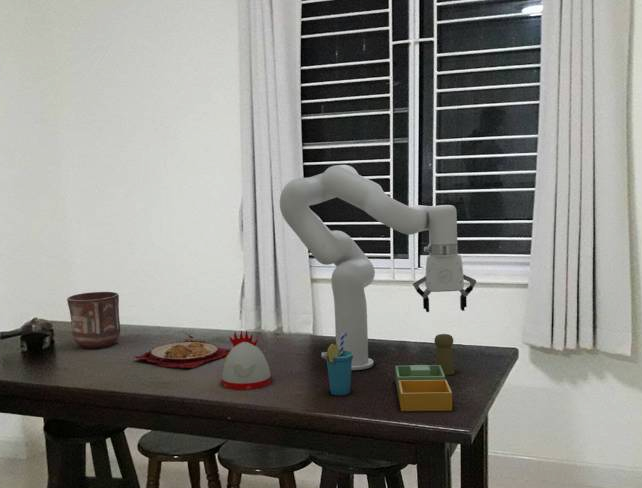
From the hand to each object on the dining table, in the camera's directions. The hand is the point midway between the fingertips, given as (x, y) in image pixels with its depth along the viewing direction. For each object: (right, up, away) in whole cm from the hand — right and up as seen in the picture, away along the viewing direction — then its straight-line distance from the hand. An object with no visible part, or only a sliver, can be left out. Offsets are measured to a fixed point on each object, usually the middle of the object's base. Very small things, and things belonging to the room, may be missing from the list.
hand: (444, 310), depth 214 cm
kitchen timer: (-56, -21, +4) cm, 60 cm away
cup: (-30, -22, -10) cm, 38 cm away
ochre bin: (-11, -23, -23) cm, 34 cm away
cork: (+1, -18, +3) cm, 18 cm away
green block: (-9, -20, -10) cm, 24 cm away
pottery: (-110, -14, +59) cm, 126 cm away
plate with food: (-76, -16, +36) cm, 86 cm away
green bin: (-9, -20, -9) cm, 24 cm away
